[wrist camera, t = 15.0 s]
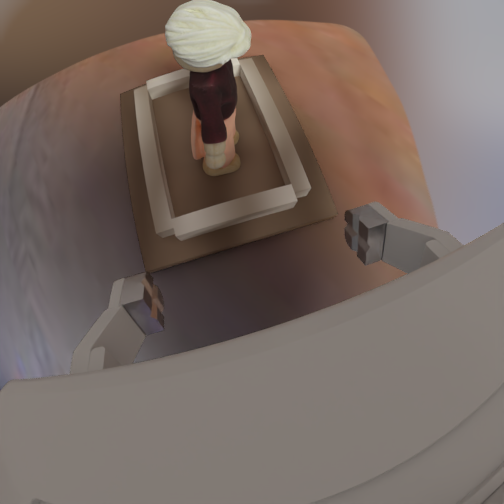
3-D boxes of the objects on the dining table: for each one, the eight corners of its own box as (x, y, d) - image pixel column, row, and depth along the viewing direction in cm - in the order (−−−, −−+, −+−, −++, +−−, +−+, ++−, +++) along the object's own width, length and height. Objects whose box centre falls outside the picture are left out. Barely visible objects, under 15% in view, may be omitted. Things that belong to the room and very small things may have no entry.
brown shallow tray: (150, 273, 19) (137, 270, 16) (123, 99, 21) (114, 84, 18) (333, 217, 19) (345, 207, 17) (262, 61, 22) (264, 44, 19)
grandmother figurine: (189, 121, 19) (151, -14, 7) (236, 111, 19) (234, -28, 7) (202, 209, 18) (141, 78, 6) (257, 198, 18) (279, 54, 6)
